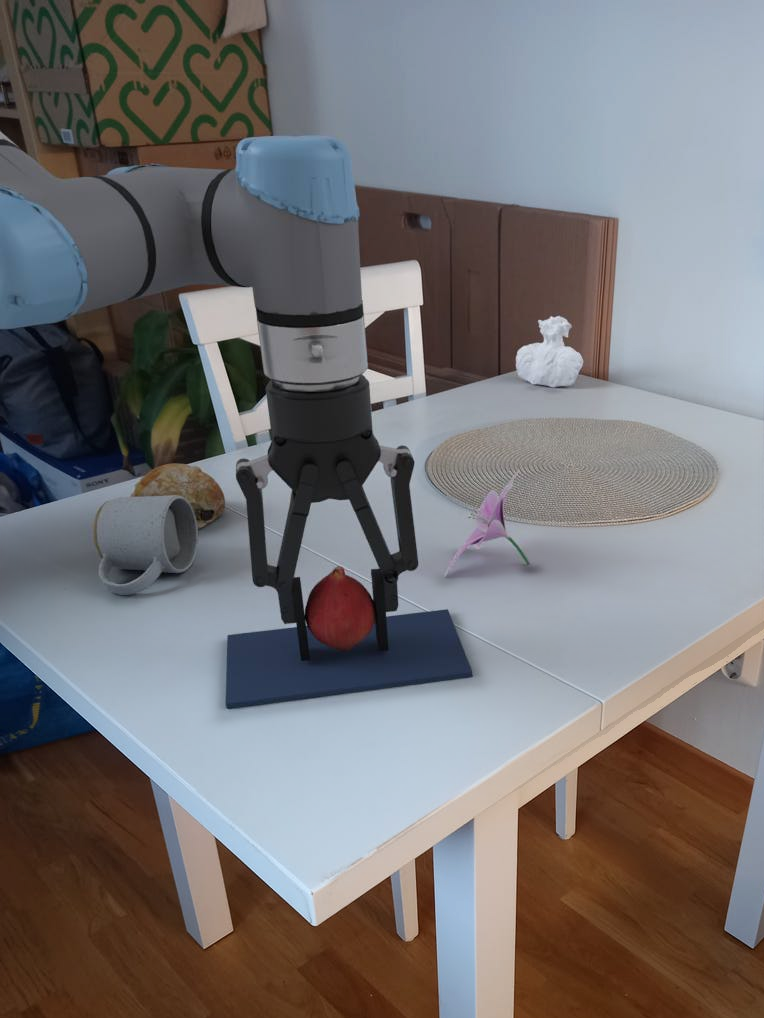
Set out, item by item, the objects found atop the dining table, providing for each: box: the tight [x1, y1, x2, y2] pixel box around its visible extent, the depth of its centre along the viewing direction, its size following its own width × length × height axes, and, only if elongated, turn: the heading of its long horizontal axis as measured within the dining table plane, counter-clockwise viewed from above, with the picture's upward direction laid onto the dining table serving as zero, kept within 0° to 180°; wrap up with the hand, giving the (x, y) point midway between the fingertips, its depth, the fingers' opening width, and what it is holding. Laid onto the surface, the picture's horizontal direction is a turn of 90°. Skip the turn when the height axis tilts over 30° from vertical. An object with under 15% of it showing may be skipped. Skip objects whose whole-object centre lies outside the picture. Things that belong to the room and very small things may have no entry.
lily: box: [444, 469, 531, 577], centre depth 93 cm, size 12×12×10 cm
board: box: [225, 608, 474, 709], centre depth 80 cm, size 20×11×1 cm, turn 102°
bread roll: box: [129, 462, 226, 530], centre depth 105 cm, size 10×10×8 cm
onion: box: [304, 565, 375, 652], centre depth 77 cm, size 6×6×8 cm
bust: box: [515, 315, 584, 388], centre depth 150 cm, size 12×8×11 cm
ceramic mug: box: [92, 495, 199, 596], centre depth 92 cm, size 11×8×8 cm
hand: (343, 647), depth 79 cm, fingers closed on onion, 6 cm apart
